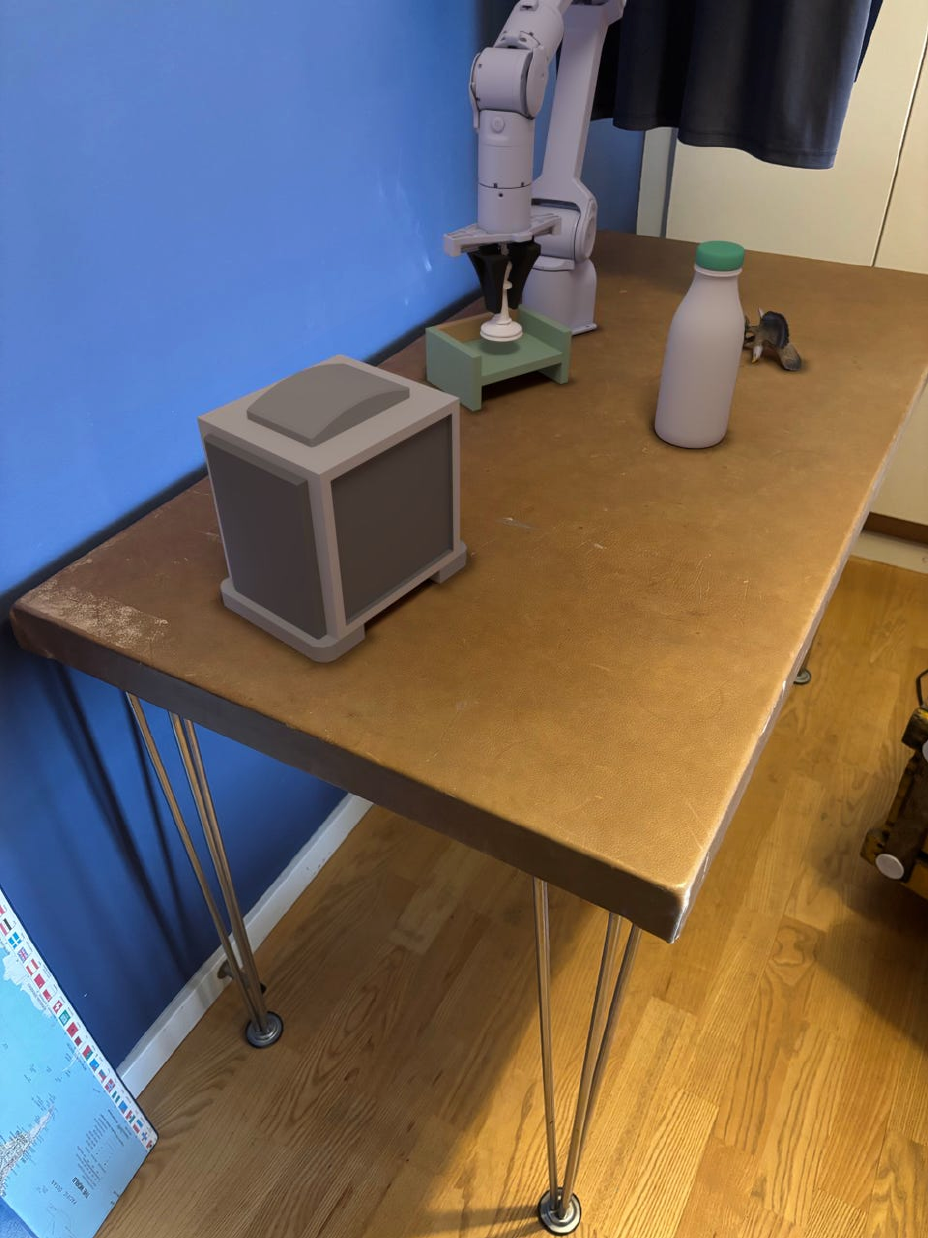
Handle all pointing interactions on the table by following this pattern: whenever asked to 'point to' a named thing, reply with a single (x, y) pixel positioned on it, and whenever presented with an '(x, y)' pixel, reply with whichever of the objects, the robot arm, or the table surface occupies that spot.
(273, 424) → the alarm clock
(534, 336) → the shelf
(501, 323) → the chess piece
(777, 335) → the brown toy animal
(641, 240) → the table surface
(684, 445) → the milk bottle
